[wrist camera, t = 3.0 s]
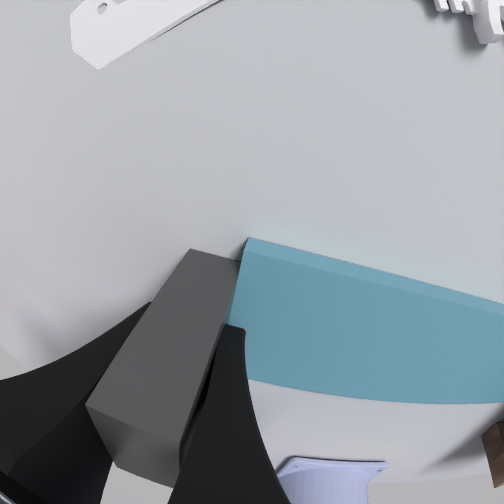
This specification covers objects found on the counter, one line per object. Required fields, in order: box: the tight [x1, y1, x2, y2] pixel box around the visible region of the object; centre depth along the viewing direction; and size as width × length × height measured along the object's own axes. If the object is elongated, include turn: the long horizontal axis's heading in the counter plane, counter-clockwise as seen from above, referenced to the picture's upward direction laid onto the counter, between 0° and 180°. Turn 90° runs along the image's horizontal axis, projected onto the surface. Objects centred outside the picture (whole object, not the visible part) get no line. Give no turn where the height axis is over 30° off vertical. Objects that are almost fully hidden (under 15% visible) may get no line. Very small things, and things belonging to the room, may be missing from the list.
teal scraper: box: [85, 237, 504, 488], centre depth 8 cm, size 6×23×7 cm, turn 79°
